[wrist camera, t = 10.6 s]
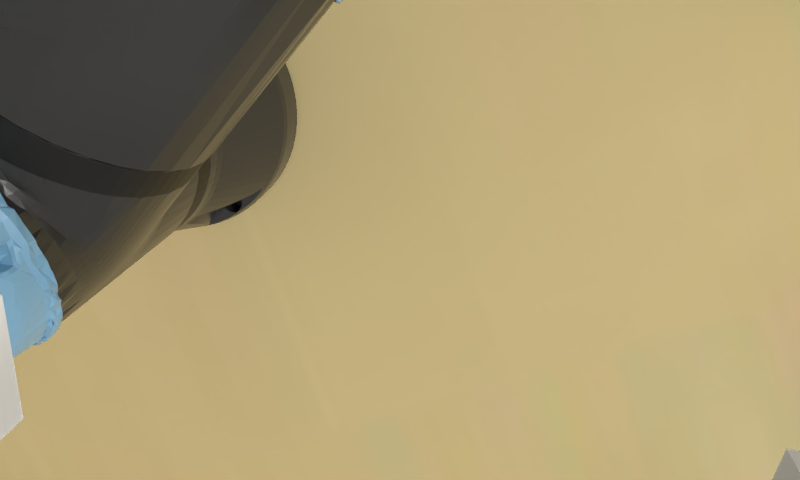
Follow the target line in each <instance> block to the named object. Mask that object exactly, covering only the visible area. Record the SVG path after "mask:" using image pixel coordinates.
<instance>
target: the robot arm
mask: <svg viewBox="0 0 800 480" xmlns="http://www.w3.org/2000/svg"><path fill="white" fill-rule="evenodd" d="M334 1H335V2H336V3H338V4H340V3H341V1H342V0H0V440H1V439H2V438H3V437H4V436H5V435H6V434H7V433H9V432H10V431H11V430H12V429H13V428H14V427H15V426H16V425H17V424H18V423H19V422H20V421H22V420H23V413H22V408H21V402H20V396H19V390H18V384H17V378H16V373H15V367H14V361H13V358H14V357H16V356H17V355H19V354H20V353H22V352H23V351H25V350H26V349H28V348H29V347H31V346H32V345H38V344H41V343H42V342H44V341H47V340H48V339H50V338H51V337H52V336H53V335H54V334H55V333H56V332H57V330H58V329H59V326H60V324H61V322H62V321H63V320H65V319H66V318H67V317H68V316H70V315H71V314H72V313H73V312H74V311H76V310H77V309H78V308H79V307H81V306H82V305H83V304H84V303H86V302H87V301H88V300H89V299H91V298H92V297H93V296H94V295H96V294H97V293H98V292H99V291H100V290H102V289H103V288H104V287H105V286H107V285H108V284H109V283H110V282H112V281H113V280H114V279H115V278H117V277H118V276H119V275H120V274H122V273H123V272H124V271H125V270H126V269H128V268H129V267H130V266H131V265H133V264H134V263H135V262H136V261H138V260H139V259H140V258H141V257H143V256H144V255H145V254H146V253H148V252H149V251H150V250H151V249H153V248H154V247H155V246H156V245H158V244H159V243H160V242H161V241H163V240H164V239H165V238H166V237H168V236H169V235H170V234H171V233H173V232H174V231H176V230H182V229H189V228H195V227H201V226H207V225H212V224H215V223H219V222H222V221H225V220H227V219H230V218H232V217H234V216H236V215H238V214H239V213H241V212H243V211H244V210H246V209H247V208H249V207H250V206H251V205H253V204H254V203H255V202H256V201H257V200H258V199H259V198H260V197H261V196H263V195H264V194H265V193H266V192H267V191H268V190H269V189H270V188H271V187H272V186H273V184H274V183H275V182H276V181H277V179H278V178H279V177H280V175H281V173H282V172H283V170H284V168H285V166H286V164H287V162H288V160H289V157H290V155H291V152H292V149H293V145H294V140H295V135H296V125H297V109H296V99H295V93H294V88H293V84H292V81H291V77H290V74H289V71H288V69H287V66H286V64H285V63H286V61H287V60H288V59H289V58H290V56H291V55H292V54H293V53H294V51H295V50H296V49H297V48H298V46H299V45H300V44H301V43H302V41H303V40H304V39H305V38H306V36H307V35H308V34H309V32H310V31H311V30H312V29H313V27H314V26H315V25H316V24H317V22H318V21H319V20H320V19H321V17H322V16H323V15H324V14H325V12H326V11H327V10H328V9H329V7H330V6H331V5H332V3H333V2H334ZM772 480H800V451H797V450H792V449H786V451H785V453H784V455H783V458H782V460H781V462H780V464H779V466H778V468H777V471H776V473H775V475H774V477H773V479H772Z"/></svg>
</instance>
